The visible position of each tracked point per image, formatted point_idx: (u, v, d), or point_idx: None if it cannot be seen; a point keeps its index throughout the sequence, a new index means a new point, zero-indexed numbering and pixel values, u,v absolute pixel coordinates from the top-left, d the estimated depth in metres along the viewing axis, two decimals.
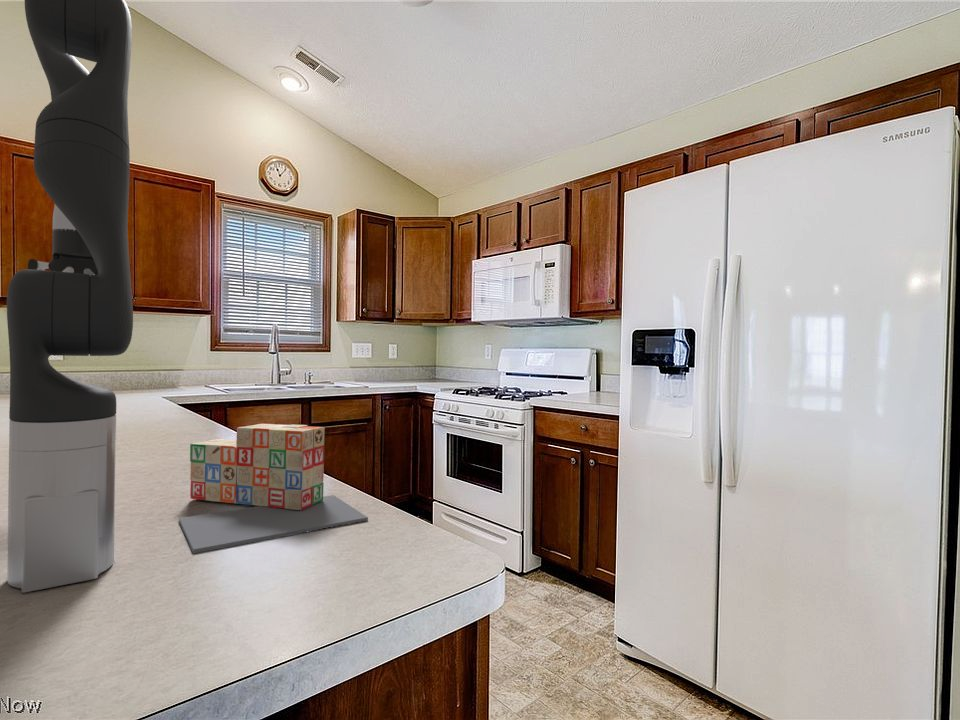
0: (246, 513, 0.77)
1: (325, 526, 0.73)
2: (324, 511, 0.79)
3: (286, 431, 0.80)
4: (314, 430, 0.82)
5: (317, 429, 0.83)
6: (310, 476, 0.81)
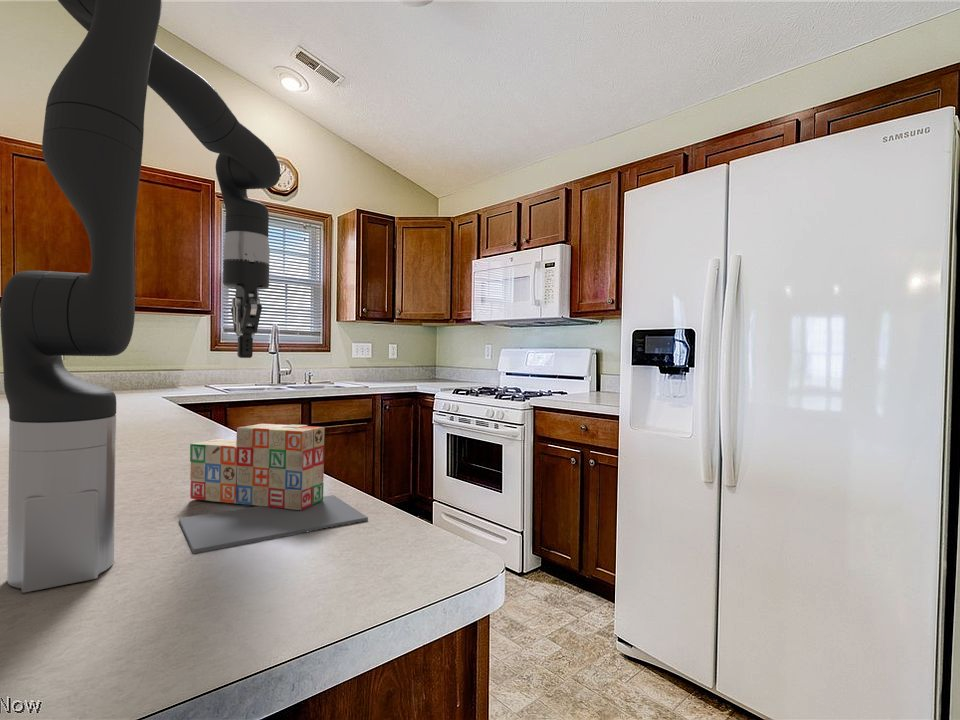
0: (246, 513, 0.77)
1: (325, 526, 0.73)
2: (324, 511, 0.79)
3: (286, 431, 0.80)
4: (314, 430, 0.82)
5: (317, 429, 0.83)
6: (310, 476, 0.81)
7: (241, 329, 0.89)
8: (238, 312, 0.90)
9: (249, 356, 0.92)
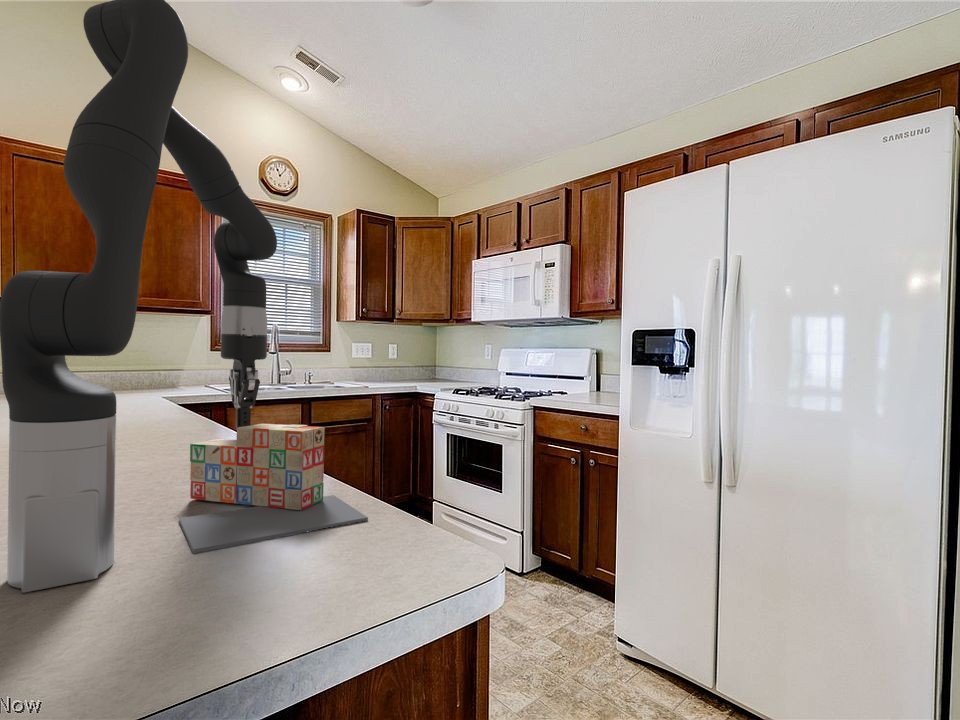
0: (246, 513, 0.77)
1: (325, 526, 0.73)
2: (324, 511, 0.79)
3: (286, 431, 0.80)
4: (314, 430, 0.82)
5: (317, 429, 0.83)
6: (310, 476, 0.81)
7: (239, 403, 0.89)
8: (236, 386, 0.90)
9: None
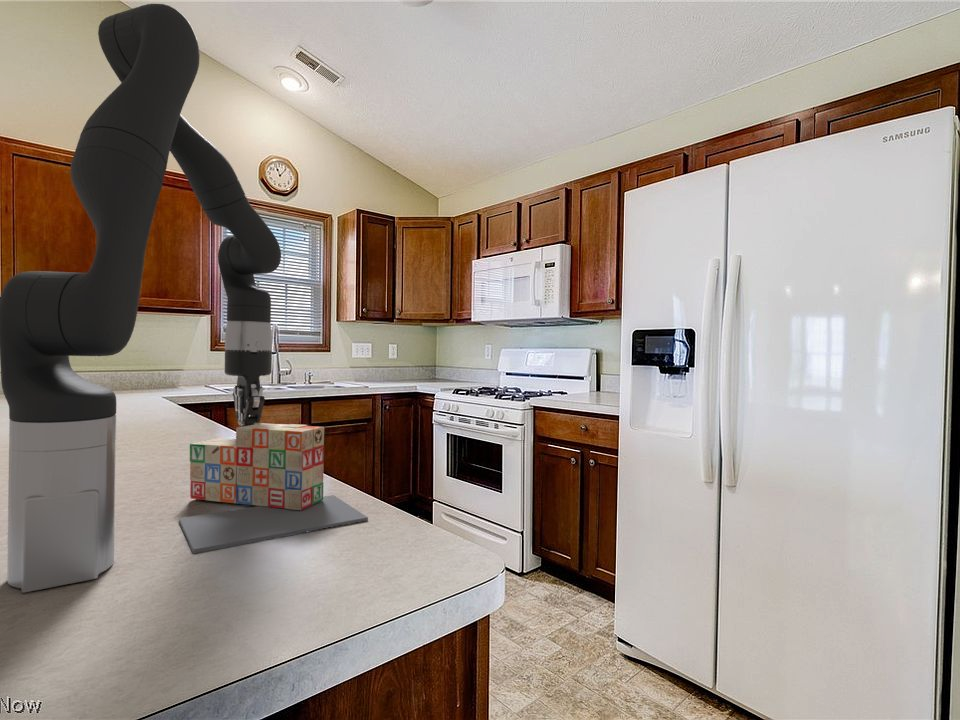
0: (246, 513, 0.77)
1: (325, 526, 0.73)
2: (324, 511, 0.79)
3: (285, 431, 0.79)
4: (314, 430, 0.82)
5: (317, 429, 0.82)
6: (310, 476, 0.81)
7: (243, 420, 0.87)
8: (240, 403, 0.88)
9: None
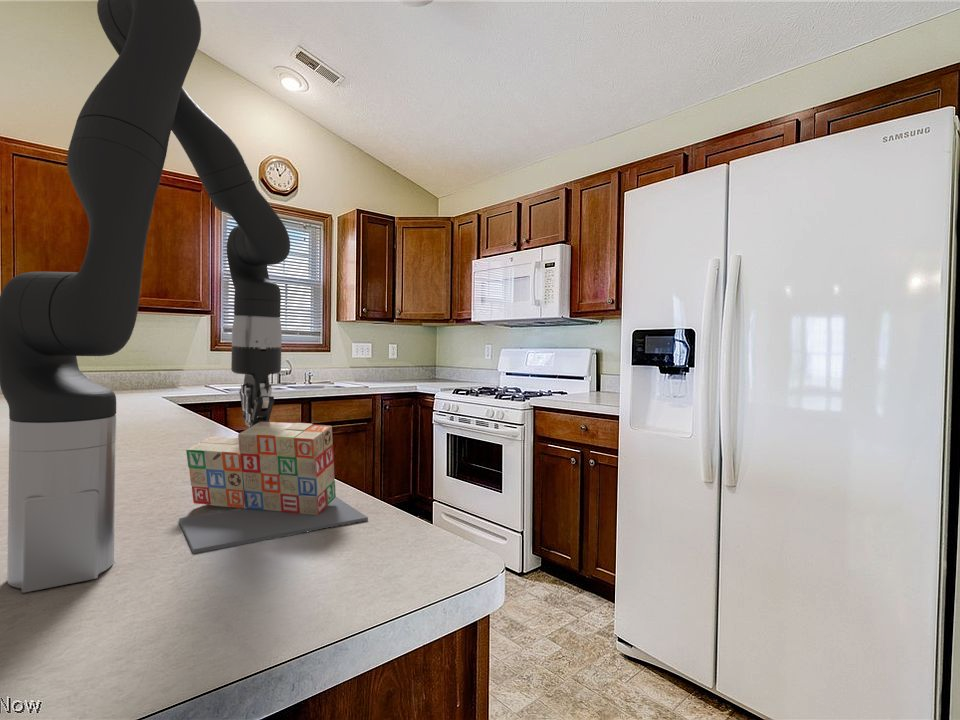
0: (246, 513, 0.77)
1: (325, 526, 0.73)
2: (324, 511, 0.79)
3: (295, 438, 0.75)
4: (323, 433, 0.78)
5: (325, 431, 0.79)
6: (323, 480, 0.78)
7: (251, 422, 0.82)
8: (248, 402, 0.83)
9: None
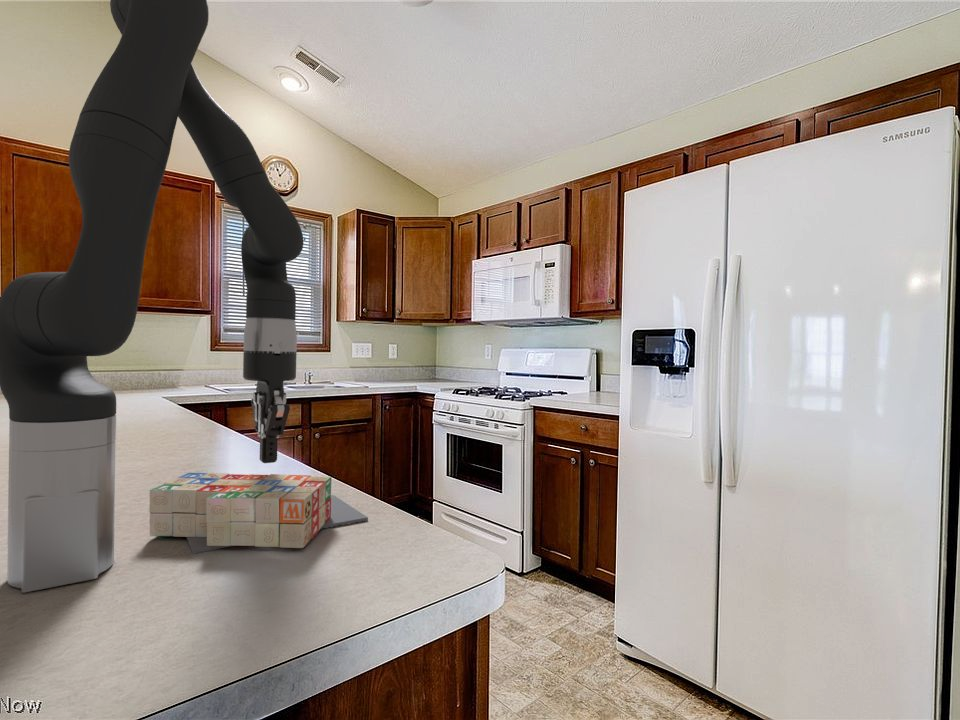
0: None
1: (325, 526, 0.73)
2: None
3: (280, 546, 0.64)
4: (304, 521, 0.64)
5: (304, 515, 0.64)
6: (321, 512, 0.72)
7: (265, 433, 0.76)
8: (261, 412, 0.76)
9: (273, 460, 0.78)
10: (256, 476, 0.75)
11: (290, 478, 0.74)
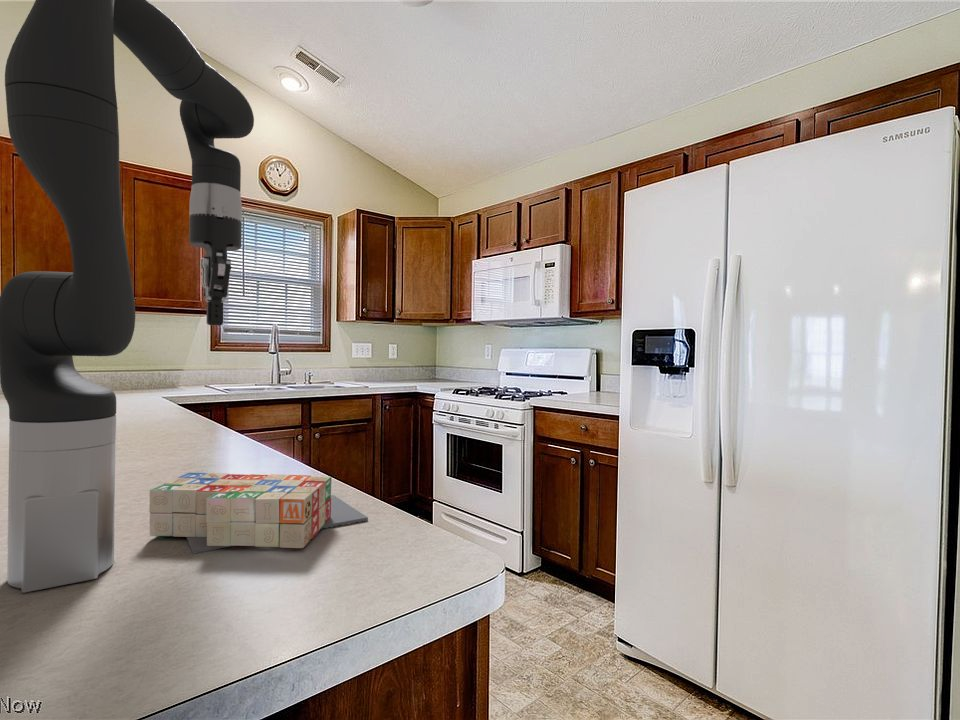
0: None
1: (325, 526, 0.73)
2: None
3: (280, 546, 0.64)
4: (304, 521, 0.64)
5: (304, 515, 0.64)
6: (322, 512, 0.72)
7: (209, 292, 0.80)
8: (205, 274, 0.81)
9: (219, 323, 0.83)
10: (256, 476, 0.75)
11: (290, 478, 0.74)
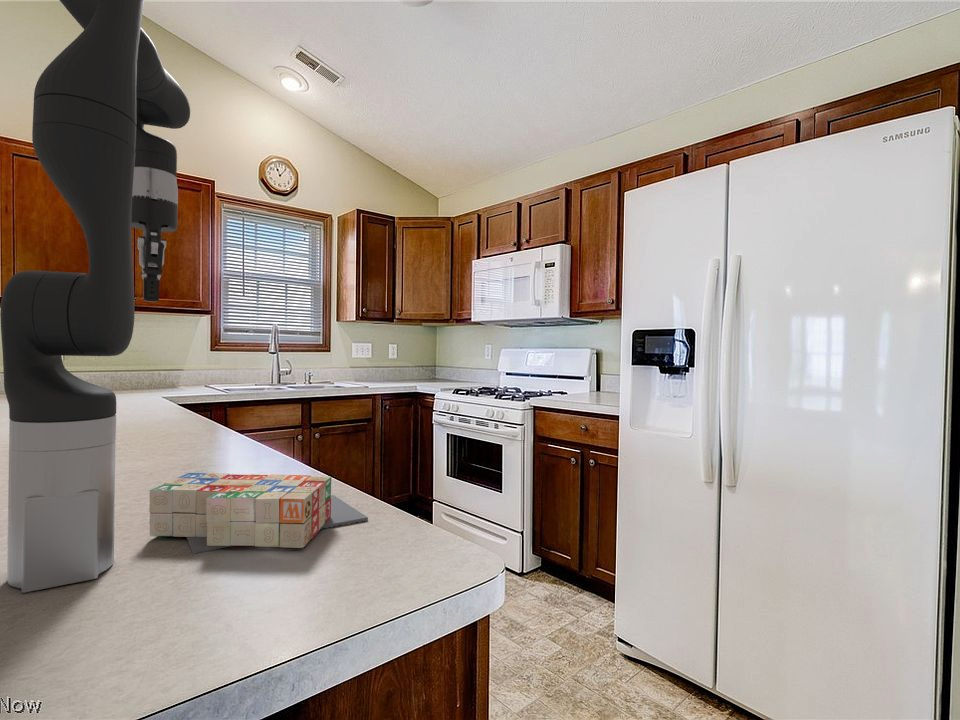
0: None
1: (325, 526, 0.73)
2: None
3: (280, 546, 0.64)
4: (304, 521, 0.64)
5: (304, 515, 0.64)
6: (321, 512, 0.72)
7: (143, 269, 0.85)
8: (141, 252, 0.86)
9: (155, 299, 0.88)
10: (256, 476, 0.75)
11: (290, 478, 0.74)
